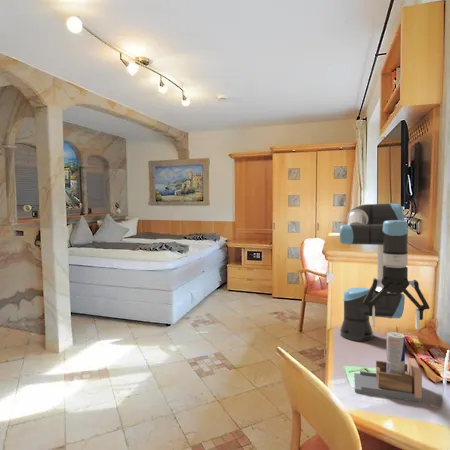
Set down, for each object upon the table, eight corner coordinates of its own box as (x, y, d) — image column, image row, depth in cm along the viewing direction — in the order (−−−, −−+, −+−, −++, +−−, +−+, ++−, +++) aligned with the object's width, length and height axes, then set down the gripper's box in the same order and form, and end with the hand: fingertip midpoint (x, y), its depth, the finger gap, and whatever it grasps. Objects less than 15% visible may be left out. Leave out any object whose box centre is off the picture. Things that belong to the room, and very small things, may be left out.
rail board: (354, 376, 127) (354, 351, 127) (414, 384, 120) (414, 358, 120) (355, 392, 116) (355, 365, 115) (421, 402, 109) (421, 374, 109)
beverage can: (406, 382, 114) (407, 337, 113) (388, 380, 115) (389, 336, 114) (402, 374, 119) (402, 331, 118) (384, 372, 120) (384, 331, 120)
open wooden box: (376, 376, 124) (376, 360, 123) (406, 380, 120) (406, 364, 120) (378, 390, 114) (378, 372, 114) (412, 395, 111) (412, 377, 111)
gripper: (356, 266, 116) (356, 327, 117) (440, 269, 108) (439, 334, 109) (355, 262, 123) (355, 320, 124) (434, 265, 115) (433, 326, 116)
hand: (394, 327), depth 117 cm, fingers open, 13 cm apart
